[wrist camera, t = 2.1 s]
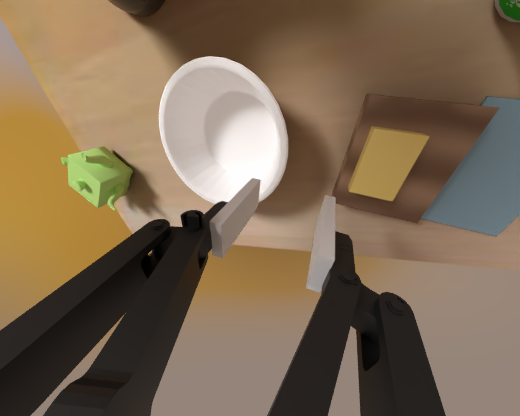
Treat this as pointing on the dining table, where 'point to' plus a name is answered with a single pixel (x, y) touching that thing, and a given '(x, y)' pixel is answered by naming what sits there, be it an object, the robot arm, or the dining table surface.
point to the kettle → (98, 175)
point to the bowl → (222, 129)
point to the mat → (485, 177)
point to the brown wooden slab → (429, 160)
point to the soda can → (508, 9)
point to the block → (386, 162)
